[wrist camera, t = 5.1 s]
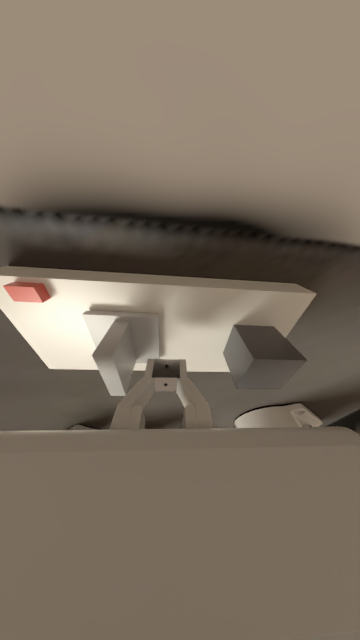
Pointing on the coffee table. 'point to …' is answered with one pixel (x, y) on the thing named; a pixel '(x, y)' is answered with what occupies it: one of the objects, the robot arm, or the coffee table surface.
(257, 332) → the dark grey cube
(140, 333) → the grey lid with handle
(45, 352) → the socket plate
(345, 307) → the coffee table surface
